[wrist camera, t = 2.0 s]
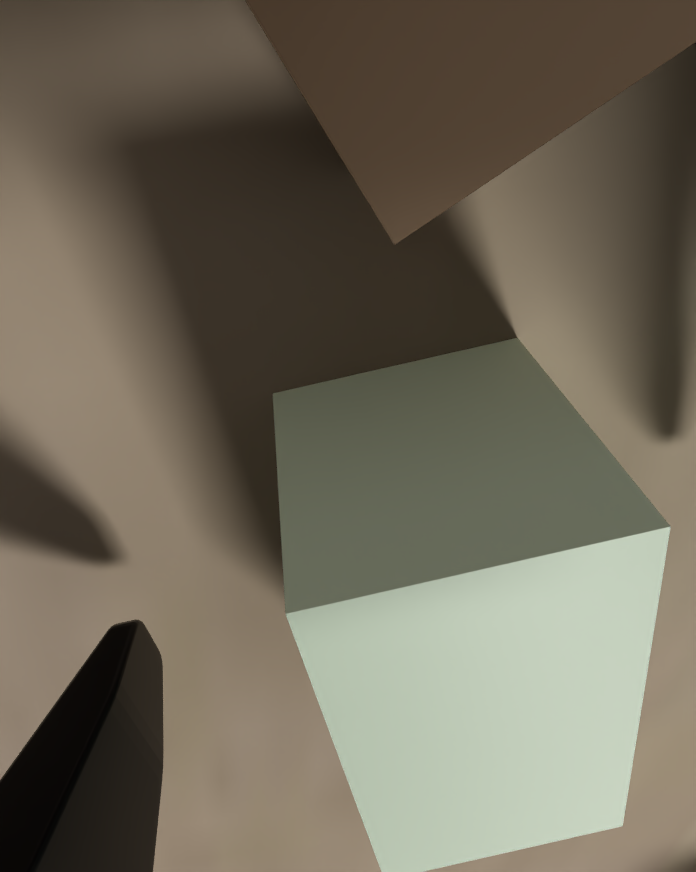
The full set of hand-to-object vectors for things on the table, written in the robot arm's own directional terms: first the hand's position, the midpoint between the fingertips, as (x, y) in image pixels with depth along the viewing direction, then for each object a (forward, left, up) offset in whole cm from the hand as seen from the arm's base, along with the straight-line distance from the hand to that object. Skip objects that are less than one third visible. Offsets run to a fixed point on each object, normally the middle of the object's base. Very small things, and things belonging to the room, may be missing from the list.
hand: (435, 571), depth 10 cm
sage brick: (0, 0, -1) cm, 1 cm away
